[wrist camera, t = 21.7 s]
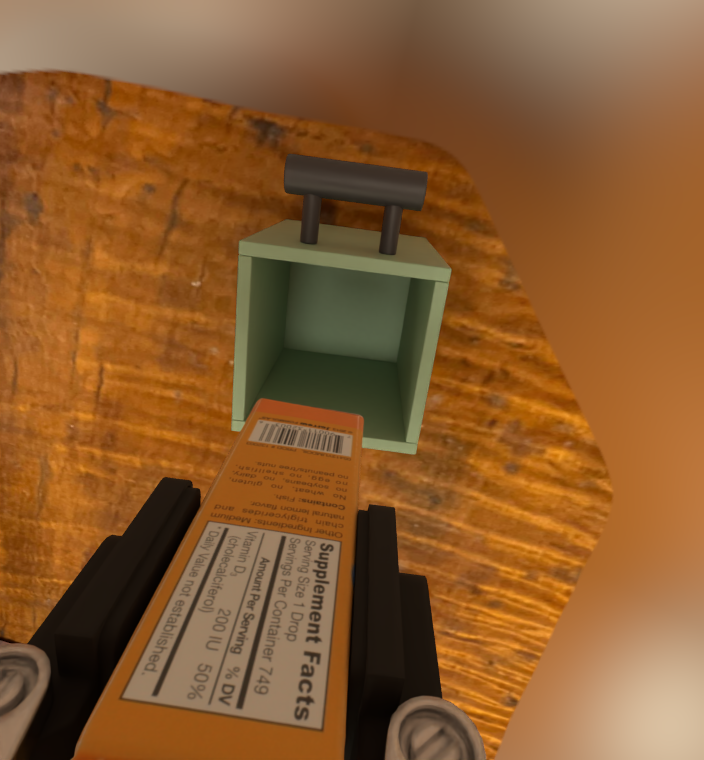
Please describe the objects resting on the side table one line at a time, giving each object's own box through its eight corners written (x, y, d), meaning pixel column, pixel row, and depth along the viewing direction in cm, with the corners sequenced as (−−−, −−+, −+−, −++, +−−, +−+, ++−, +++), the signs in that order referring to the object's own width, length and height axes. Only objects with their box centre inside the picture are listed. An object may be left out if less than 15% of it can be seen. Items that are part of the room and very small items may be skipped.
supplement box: (357, 506, 16) (301, 973, 7) (248, 486, 16) (39, 919, 7) (376, 411, 15) (341, 819, 5) (258, 389, 15) (17, 756, 5)
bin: (415, 455, 25) (470, 176, 20) (230, 430, 25) (242, 146, 20) (403, 368, 36) (436, 177, 31) (276, 352, 36) (290, 157, 31)
